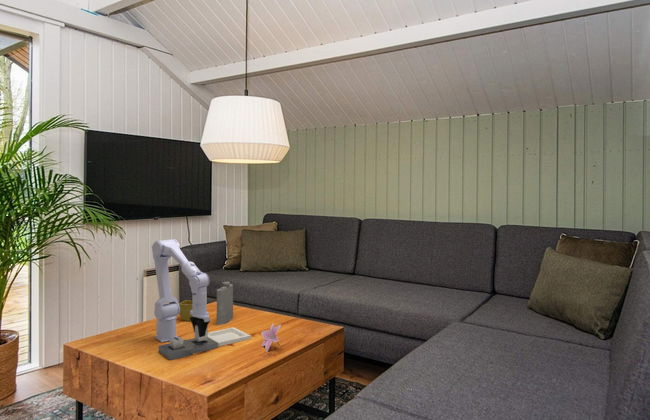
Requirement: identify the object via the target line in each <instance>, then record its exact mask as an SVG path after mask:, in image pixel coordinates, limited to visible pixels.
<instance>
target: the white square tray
mask: <svg viewBox="0 0 650 420" xmlns="http://www.w3.org/2000/svg"><path fill="white" fill-rule="evenodd" d="M208 338H209V339H211V340H213V341H214V342H216V343H217V348H218V347H223V346H226V345H230V344H236V343H240V342H244V341H248V340H251V339H252V336H251V335H250V333H248V332H247V333H246V332H244V331H242V330H240V329H238V328H236V327H228V328H224V329H219V330H214V331H210V332H208Z"/></svg>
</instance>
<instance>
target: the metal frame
mask: <svg viewBox="0 0 650 420" xmlns="http://www.w3.org/2000/svg"><path fill="white" fill-rule="evenodd" d="M217 348H218V346H217V343H216V342H214V341H213V340H211V339H209V338H208V340H204V341H199V342H198V341H197V340H195V339H194V337H193V338H189V339H183V348H180V349H176V350H171V349H170V342H169V343H165V344H161V345H158V352H159V354H161V355H162V356H164V357H165V358H166V359H168V360H169V361H173V360H177V359H182V358H185V357H189V356H193V355H194V354H197V353H198V354H199V353H201V352H206V351H210V350H215V349H217Z"/></svg>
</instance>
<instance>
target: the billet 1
mask: <svg viewBox="0 0 650 420" xmlns="http://www.w3.org/2000/svg"><path fill="white" fill-rule="evenodd" d="M183 340H184V338H183V337H181V336H178V337H174V338H170V341H169V343H170V349H171V350H176V349H180V348H183Z"/></svg>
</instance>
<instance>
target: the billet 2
mask: <svg viewBox="0 0 650 420" xmlns="http://www.w3.org/2000/svg"><path fill="white" fill-rule="evenodd" d="M208 331H209V325H208V326H207V329H206V333H205V336H203V337H199V332H198V326H197V325H195V333H194V335H193V336H194V337H193V338H194V339H195V340H197V341H198V342H199V341H204V340H208V333H209V332H208Z"/></svg>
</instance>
